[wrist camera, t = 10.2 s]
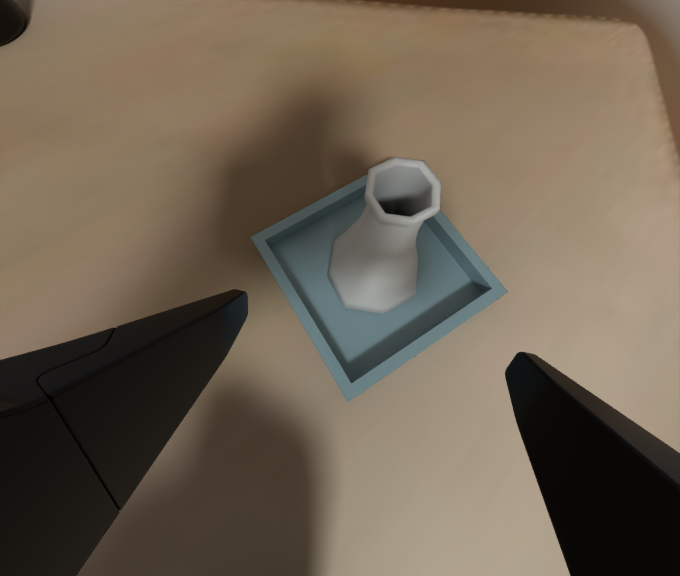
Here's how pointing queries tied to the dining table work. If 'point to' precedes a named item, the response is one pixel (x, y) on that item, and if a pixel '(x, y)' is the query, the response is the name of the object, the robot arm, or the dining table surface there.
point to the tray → (366, 327)
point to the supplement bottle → (10, 21)
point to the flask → (385, 237)
